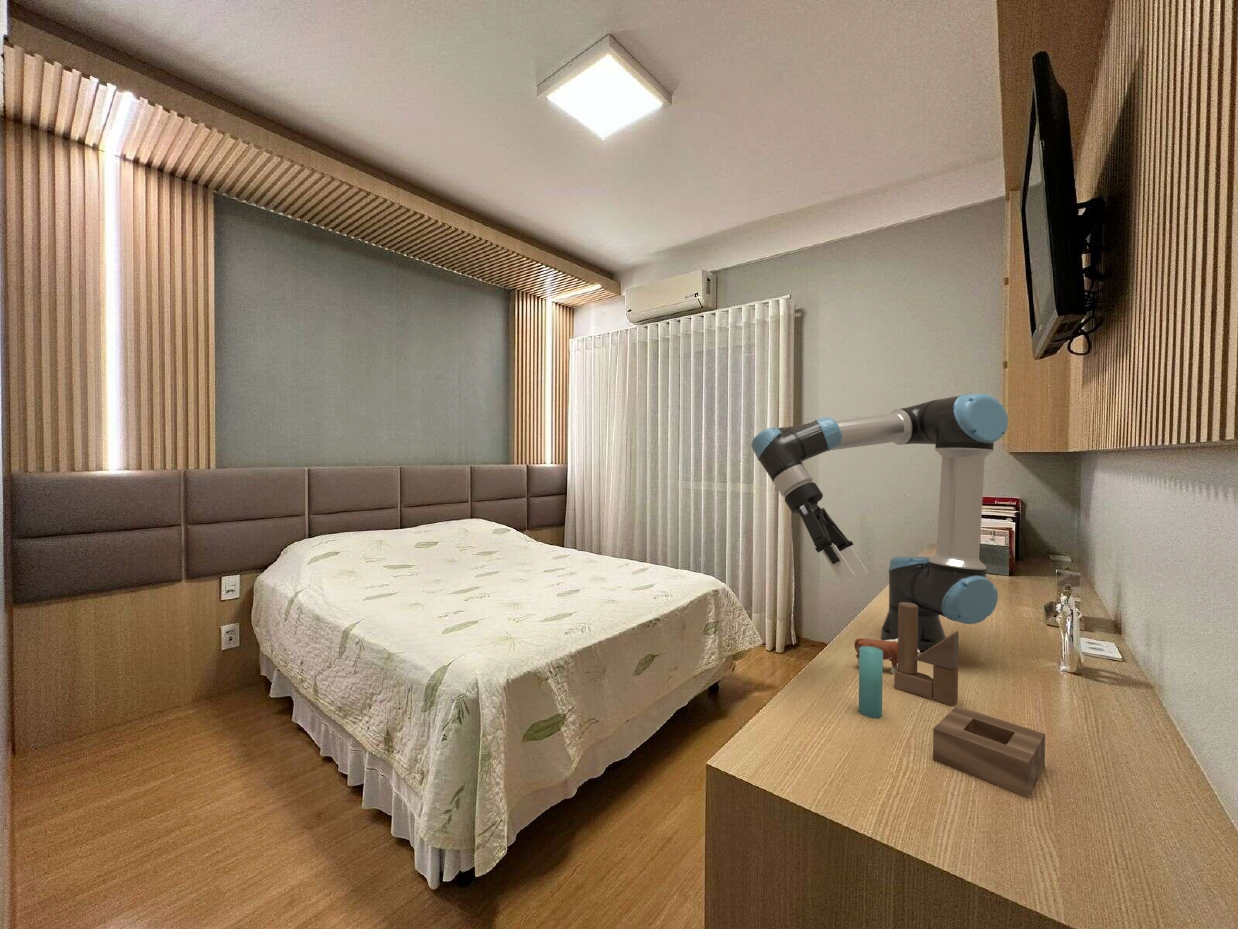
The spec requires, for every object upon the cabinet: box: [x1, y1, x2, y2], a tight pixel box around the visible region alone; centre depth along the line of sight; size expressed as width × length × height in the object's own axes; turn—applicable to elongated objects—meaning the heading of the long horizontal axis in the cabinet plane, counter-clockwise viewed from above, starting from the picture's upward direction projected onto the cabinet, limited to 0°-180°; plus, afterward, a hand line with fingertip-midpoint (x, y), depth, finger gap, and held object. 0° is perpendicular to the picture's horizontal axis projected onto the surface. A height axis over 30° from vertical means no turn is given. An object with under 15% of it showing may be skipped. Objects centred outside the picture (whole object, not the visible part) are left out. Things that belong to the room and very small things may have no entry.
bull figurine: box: [853, 637, 921, 675], centre depth 115 cm, size 4×13×8 cm, turn 71°
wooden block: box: [893, 602, 960, 707], centre depth 103 cm, size 4×11×18 cm, turn 42°
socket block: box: [932, 705, 1046, 798], centre depth 79 cm, size 12×12×5 cm
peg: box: [858, 646, 884, 719], centre depth 95 cm, size 4×4×12 cm
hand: (855, 577), depth 101 cm, fingers open, 13 cm apart
